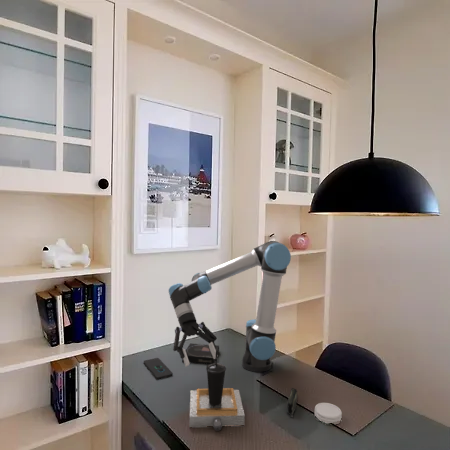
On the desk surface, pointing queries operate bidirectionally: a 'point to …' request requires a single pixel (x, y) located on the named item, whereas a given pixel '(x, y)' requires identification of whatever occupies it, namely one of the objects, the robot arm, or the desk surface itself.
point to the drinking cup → (215, 382)
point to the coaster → (328, 412)
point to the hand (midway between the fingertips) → (202, 361)
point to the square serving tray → (216, 409)
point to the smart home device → (158, 368)
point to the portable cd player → (200, 354)
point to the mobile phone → (292, 401)
